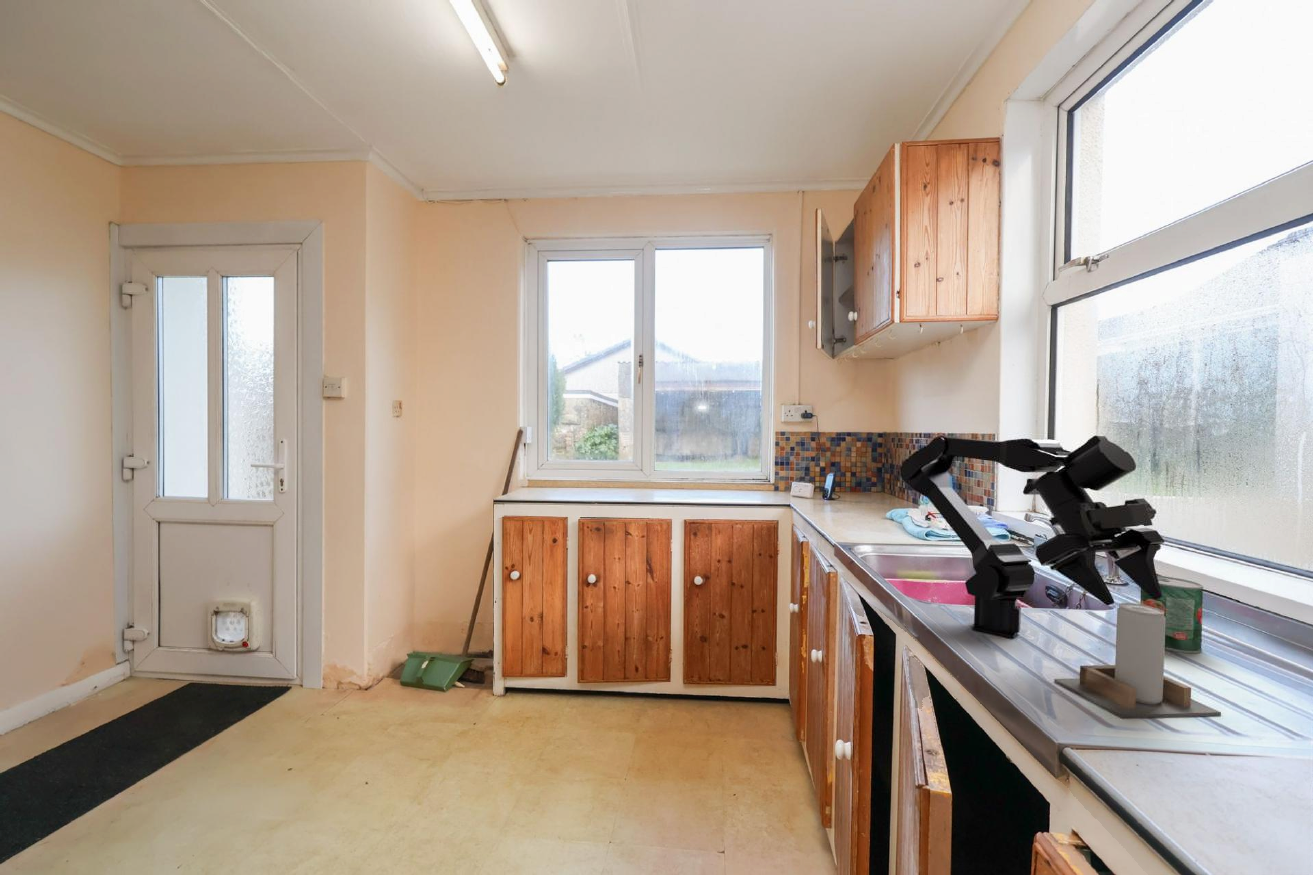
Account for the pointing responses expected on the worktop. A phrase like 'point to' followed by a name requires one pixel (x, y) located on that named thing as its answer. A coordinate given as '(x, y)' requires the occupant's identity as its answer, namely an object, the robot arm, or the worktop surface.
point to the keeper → (1133, 695)
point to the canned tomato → (1179, 613)
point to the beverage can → (1141, 650)
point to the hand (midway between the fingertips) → (1135, 601)
